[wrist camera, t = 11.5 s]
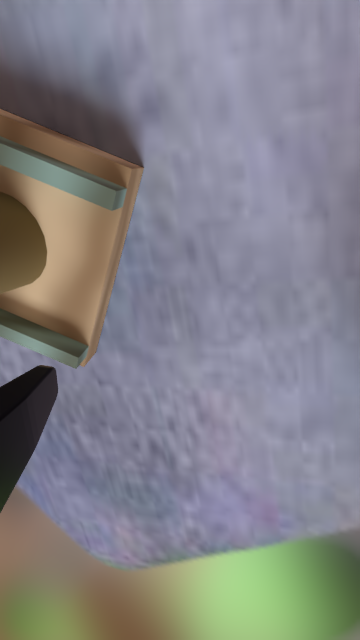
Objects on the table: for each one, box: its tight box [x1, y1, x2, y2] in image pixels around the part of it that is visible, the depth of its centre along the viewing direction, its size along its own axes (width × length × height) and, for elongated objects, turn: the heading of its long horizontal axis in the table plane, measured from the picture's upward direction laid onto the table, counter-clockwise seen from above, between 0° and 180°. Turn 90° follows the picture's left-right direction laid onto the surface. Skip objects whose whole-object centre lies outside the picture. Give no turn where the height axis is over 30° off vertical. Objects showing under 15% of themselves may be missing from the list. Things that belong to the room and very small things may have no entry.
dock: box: [0, 109, 144, 369], centre depth 20 cm, size 14×14×4 cm
